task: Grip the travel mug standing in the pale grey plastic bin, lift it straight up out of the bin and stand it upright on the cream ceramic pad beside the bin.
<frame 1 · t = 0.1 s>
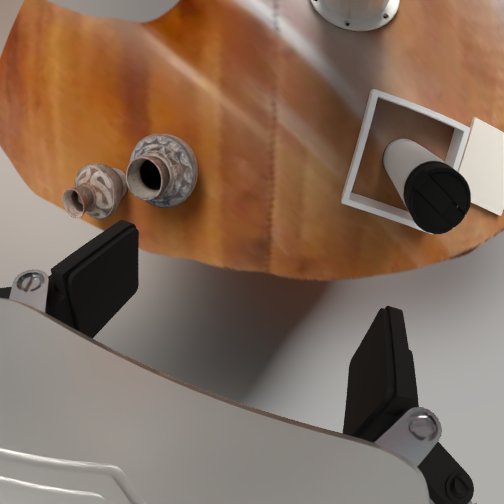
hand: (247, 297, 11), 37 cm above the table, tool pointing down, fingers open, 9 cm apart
travel mug: (402, 158, 40), resting in bin
pottery: (147, 172, 52), on the table
bin: (402, 158, 40), on the table
pad: (487, 167, 36), on the table
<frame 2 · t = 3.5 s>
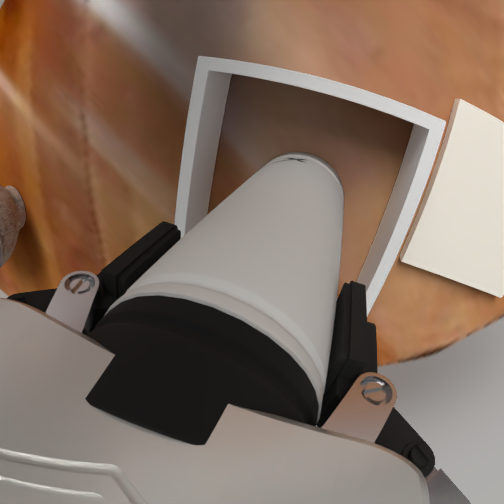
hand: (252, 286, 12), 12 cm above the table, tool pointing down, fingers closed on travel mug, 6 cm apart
travel mug: (297, 193, 22), resting in bin, touching gripper
bin: (297, 193, 22), on the table
pad: (486, 205, 18), on the table
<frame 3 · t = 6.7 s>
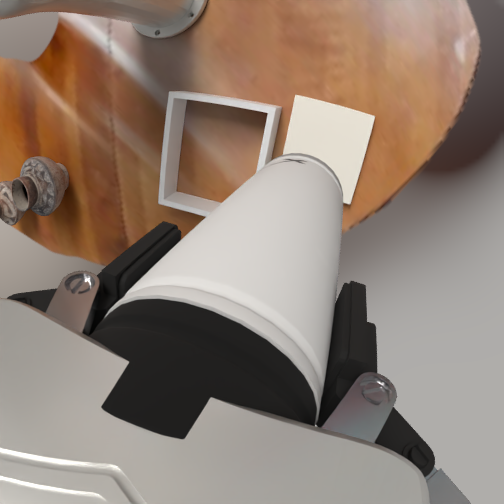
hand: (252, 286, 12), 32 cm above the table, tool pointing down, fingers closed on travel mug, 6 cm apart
travel mug: (296, 194, 22), point 20 cm above the table, touching gripper
pottery: (43, 185, 55), on the table
bin: (221, 153, 43), on the table
pad: (325, 148, 39), on the table
when the fingers open (14 cm above the table, at t = 9.7 s): travel mug drops 1 cm, resting on pad.
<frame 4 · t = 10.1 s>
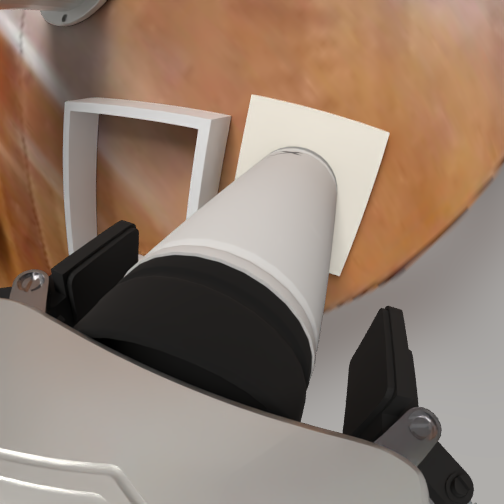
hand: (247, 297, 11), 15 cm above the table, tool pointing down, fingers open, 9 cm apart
travel mug: (293, 185, 23), point 1 cm above the table, touching pad
bin: (145, 189, 28), on the table
pad: (302, 185, 24), on the table
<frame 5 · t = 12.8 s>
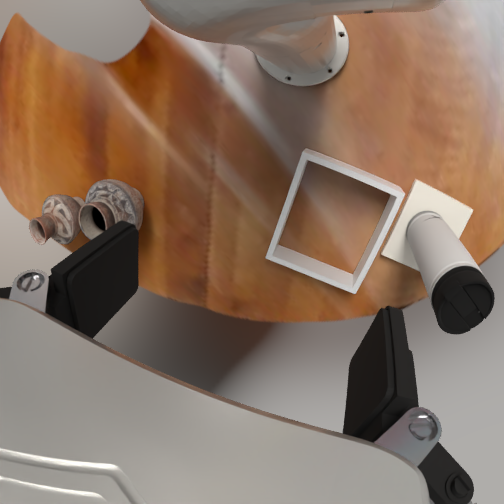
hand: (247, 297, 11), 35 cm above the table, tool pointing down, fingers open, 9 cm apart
travel mug: (425, 229, 41), point 1 cm above the table, touching pad
pottery: (105, 205, 56), on the table
bin: (333, 217, 45), on the table
pad: (427, 229, 41), on the table
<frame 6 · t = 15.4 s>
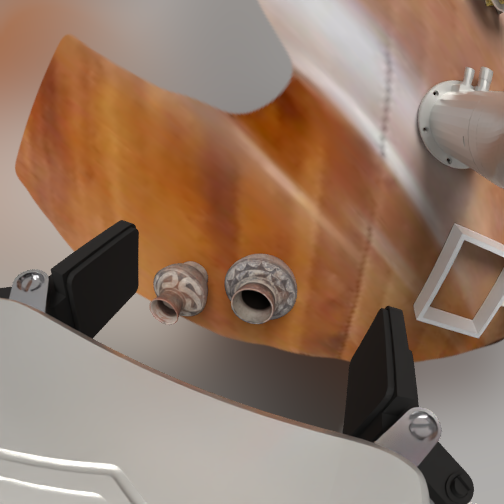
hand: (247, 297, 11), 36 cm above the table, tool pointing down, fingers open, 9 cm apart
pottery: (231, 271, 56), on the table
bin: (466, 278, 44), on the table
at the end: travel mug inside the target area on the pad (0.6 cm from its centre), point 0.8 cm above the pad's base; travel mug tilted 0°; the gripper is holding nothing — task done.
